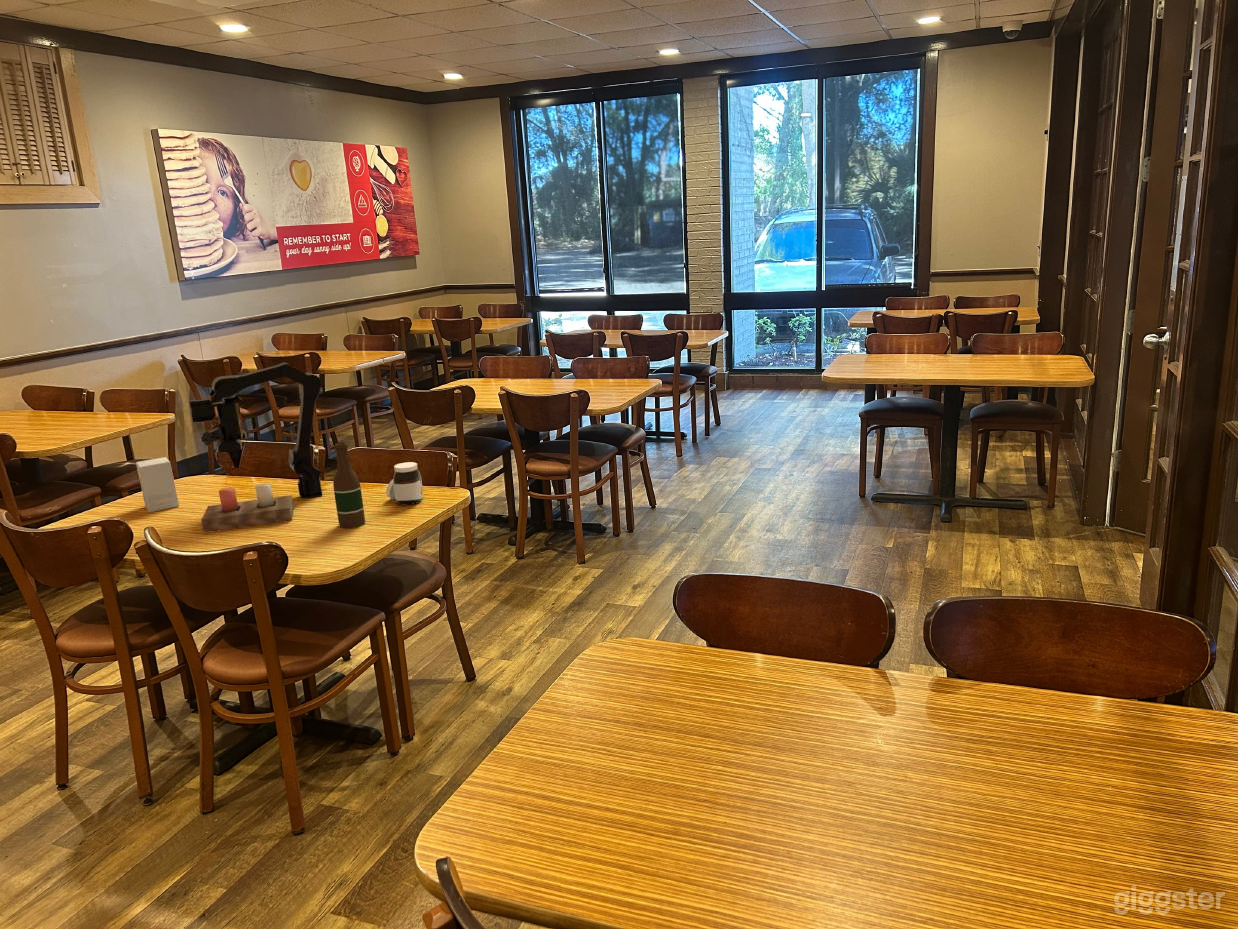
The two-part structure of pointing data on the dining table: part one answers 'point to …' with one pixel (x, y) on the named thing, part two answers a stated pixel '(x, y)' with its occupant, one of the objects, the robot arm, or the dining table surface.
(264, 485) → the grey plunger
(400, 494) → the spread jar
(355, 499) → the beer bottle
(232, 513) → the press panel
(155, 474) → the supplement box
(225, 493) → the red plunger
